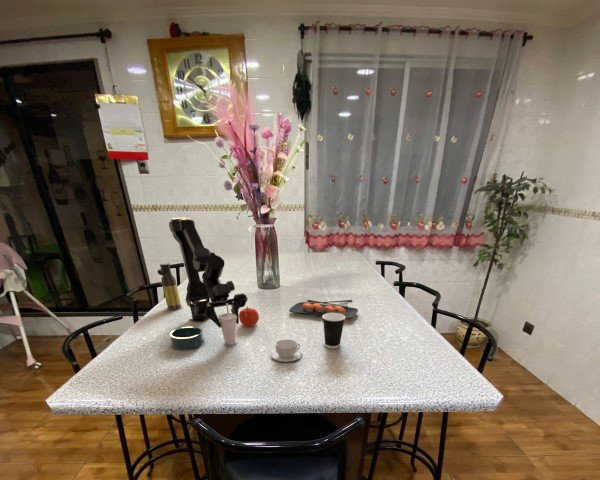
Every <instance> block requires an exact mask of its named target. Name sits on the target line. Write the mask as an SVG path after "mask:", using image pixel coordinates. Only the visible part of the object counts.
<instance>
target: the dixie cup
mask: <svg viewBox="0 0 600 480" xmlns="http://www.w3.org/2000/svg"><path fill="white" fill-rule="evenodd" d="M321 318H322V320H323V334H324V344H325V347H326V348H328V349H330V350H331V349H333V350H334V349H338V348H339V347H340V345H341V341H342V335H343V329H344V322H345V320H346V319H345V316H344V315H343V314H340V313H326V314H324V315H323V316H322V317H321Z"/></svg>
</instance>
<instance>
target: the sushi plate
mask: <svg viewBox="0 0 600 480" xmlns="http://www.w3.org/2000/svg"><path fill="white" fill-rule="evenodd" d="M345 302H346V303H348V302H349V303H350V302H353V300H352V299H345V300H344V299H342V300H333V301H318V300H312V299H307V301H300V302H297V303H296V304H294V305H293V306H292V307H290V308H289V312H290V313H294V314H298V315H303V316H310V317H312V316H313V317H318V318H319V317H320V318H322V316H323V315H324V314H326V313H340V314H343V315H344V316H345V319H344V320H350V319H353V318H354V317H355V316H356V315H357V313H358V312H359V311H358V310H359V309H358V308H356V307H350V306H348V305H341V304H335V303H345Z"/></svg>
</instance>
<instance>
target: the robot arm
mask: <svg viewBox="0 0 600 480" xmlns="http://www.w3.org/2000/svg"><path fill="white" fill-rule="evenodd" d="M168 228H169V231H170V232H171V234H172V237H173V238H174V240H176V242H177V243H178V245H179V248H180V251H181V256H182V260H183V265H184V268H185V271H186V272H185V273H186V275H187V279H188V283H187V286H186V296H185V303H186V305H187V306H188V308H190V313H191V317H190V318H189V320H190V321H197V322H204V321H206V320H208V319H209V320H210V321H212V322H213V323H214V324H215V325H216V326H217V327H218V328H219V329H222V328H221V324H220V321H219V316H218V314H217V312H216V310H215V308H221V307H227V306H226V303H228V306H231V309H230V311H231V312H230V313H231V314H235V315H236V316H237V319H236V325H239V323H240V322H239V321H240V319H239V310H240V308H244V307H245V306H246V304H247V302H248V300H249V299H248V296H247V294H246V293H245V292H241V293H235V294H234V296H233V298H229V297H230V294H231V293H232V292H234V291H235V290H236V287H235V284H234V281H233V280H228V281H226V282H225V283H222V282H221V279H220V278H221V277H222V274H223V271H224V268H225V265H226V264H225V260H224V259H223V258H222V257H221V256H220V255H217V254H216V252H211V250H210V249H209V248H207V247H205V245H204V242H203V240H202V238H201V236H200V234H199V232H198V230H197V227H196V223H195V220H194V219H193V218H189V217H176V218H171V219H170V221H169V222H168ZM200 273H202V275H201V278H200Z"/></svg>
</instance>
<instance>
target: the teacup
mask: <svg viewBox="0 0 600 480" xmlns="http://www.w3.org/2000/svg"><path fill="white" fill-rule="evenodd" d="M274 346H275V351H274V352H272V354H271V357H272V359H274V360H275V361H277V362H285V363H288V362H294V361H297V360H299V359H300V358H301V357H302V353H301V352H300V351H298V350H299V349H300V348H301V344H300V343H298V342H297V341H296V340H293V339H287V338H286V339H279V340H277V341H276V342H275V343H274Z"/></svg>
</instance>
